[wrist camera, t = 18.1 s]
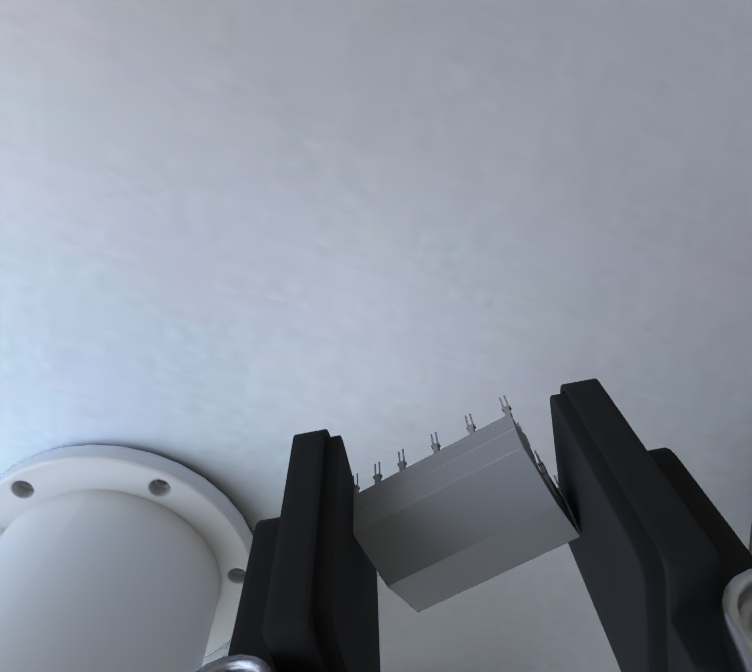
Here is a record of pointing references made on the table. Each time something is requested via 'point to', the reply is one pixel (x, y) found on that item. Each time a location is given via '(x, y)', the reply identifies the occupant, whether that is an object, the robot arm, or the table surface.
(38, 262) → the table surface
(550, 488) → the integrated circuit
